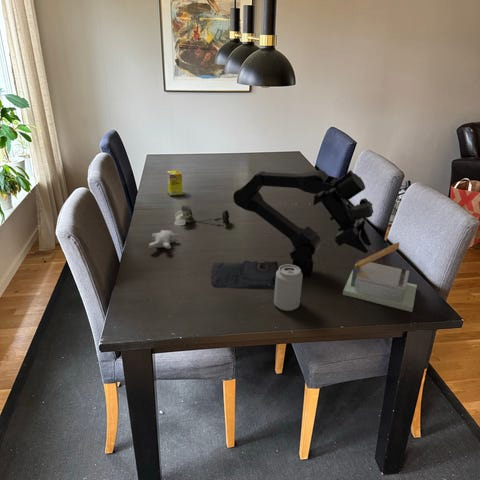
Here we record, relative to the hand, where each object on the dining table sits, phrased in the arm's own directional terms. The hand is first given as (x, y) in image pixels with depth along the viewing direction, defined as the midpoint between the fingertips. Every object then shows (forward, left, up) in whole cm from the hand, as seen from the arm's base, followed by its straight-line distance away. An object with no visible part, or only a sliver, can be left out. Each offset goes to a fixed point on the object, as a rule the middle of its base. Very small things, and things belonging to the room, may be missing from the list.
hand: (368, 248), depth 129 cm
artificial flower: (-58, +41, -14) cm, 72 cm away
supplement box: (-76, +75, -14) cm, 108 cm away
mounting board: (+5, -2, -14) cm, 15 cm away
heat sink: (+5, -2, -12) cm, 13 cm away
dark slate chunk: (-37, +2, -14) cm, 40 cm away
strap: (+3, -1, -2) cm, 4 cm away
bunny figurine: (-68, +20, -14) cm, 72 cm away
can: (-24, -13, -14) cm, 30 cm away
